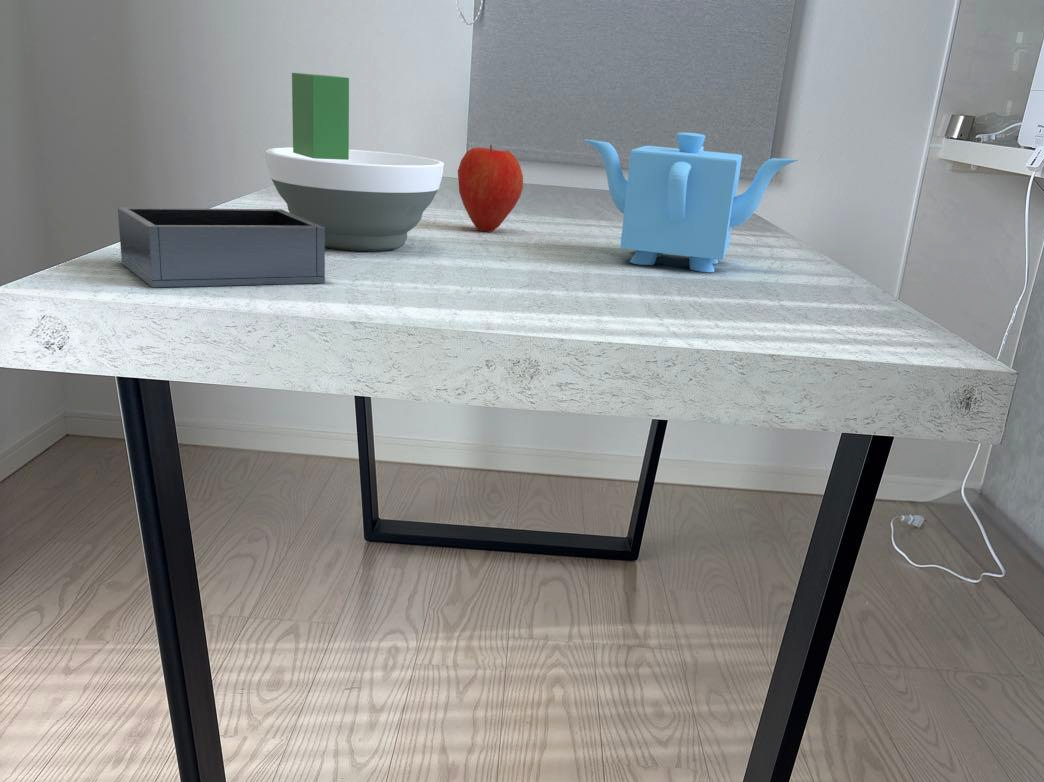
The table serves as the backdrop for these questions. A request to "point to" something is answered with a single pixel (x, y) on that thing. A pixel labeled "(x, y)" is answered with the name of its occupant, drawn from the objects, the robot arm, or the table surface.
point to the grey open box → (221, 247)
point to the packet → (320, 116)
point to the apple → (489, 186)
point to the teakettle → (682, 199)
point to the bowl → (357, 194)
